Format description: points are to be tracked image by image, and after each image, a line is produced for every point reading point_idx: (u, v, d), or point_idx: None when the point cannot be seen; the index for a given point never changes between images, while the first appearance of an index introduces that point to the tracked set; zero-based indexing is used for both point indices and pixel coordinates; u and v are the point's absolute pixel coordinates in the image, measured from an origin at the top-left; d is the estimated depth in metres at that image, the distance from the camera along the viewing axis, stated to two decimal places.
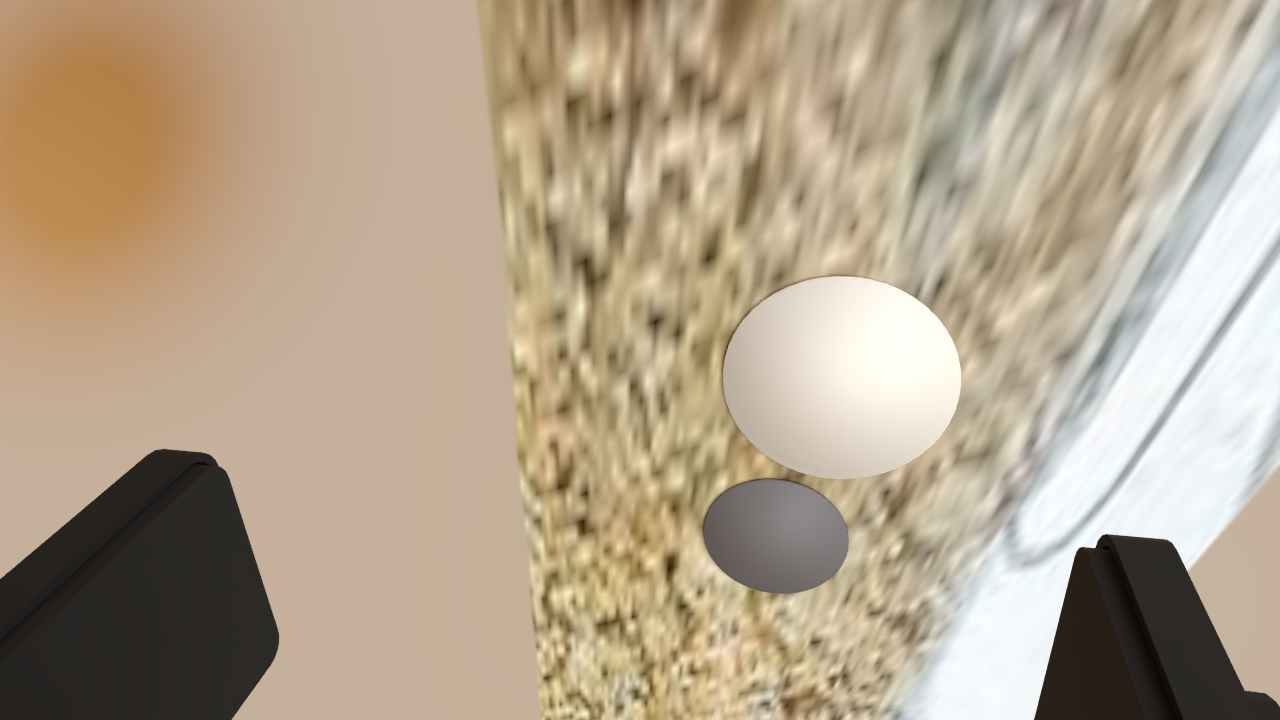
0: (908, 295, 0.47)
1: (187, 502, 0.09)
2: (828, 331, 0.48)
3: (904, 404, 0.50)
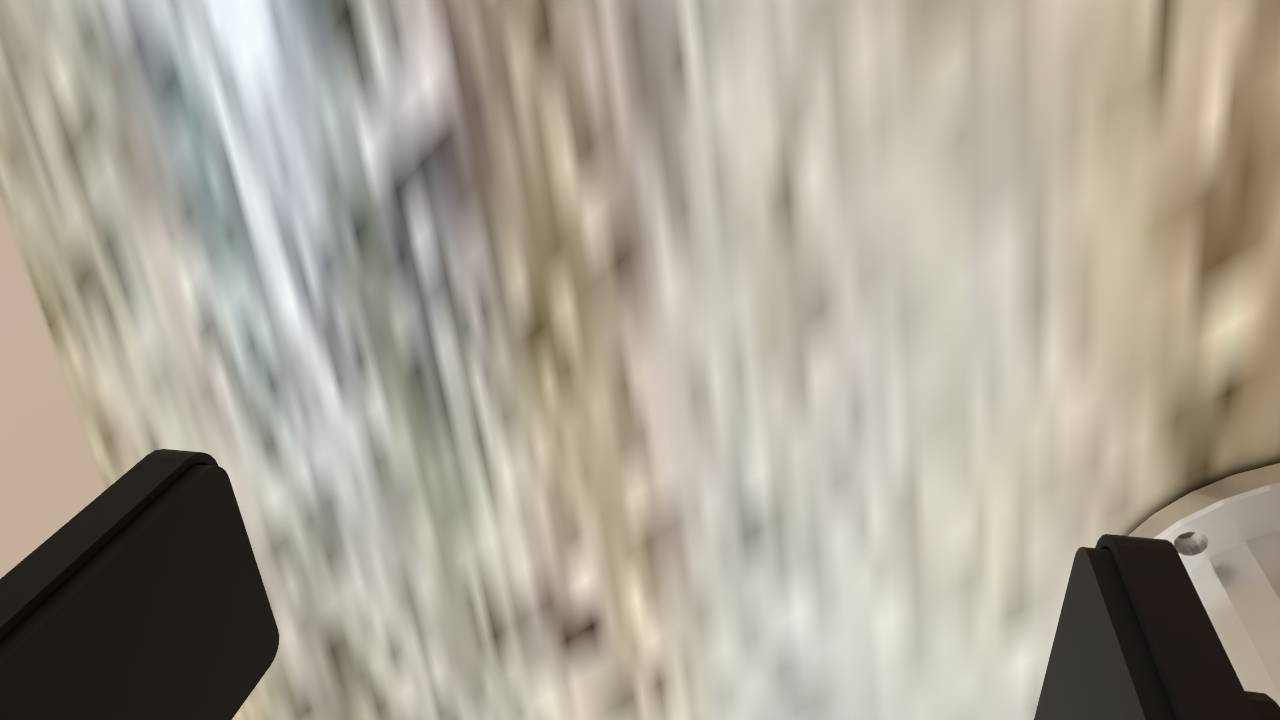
0: None
1: (187, 502, 0.09)
2: None
3: None
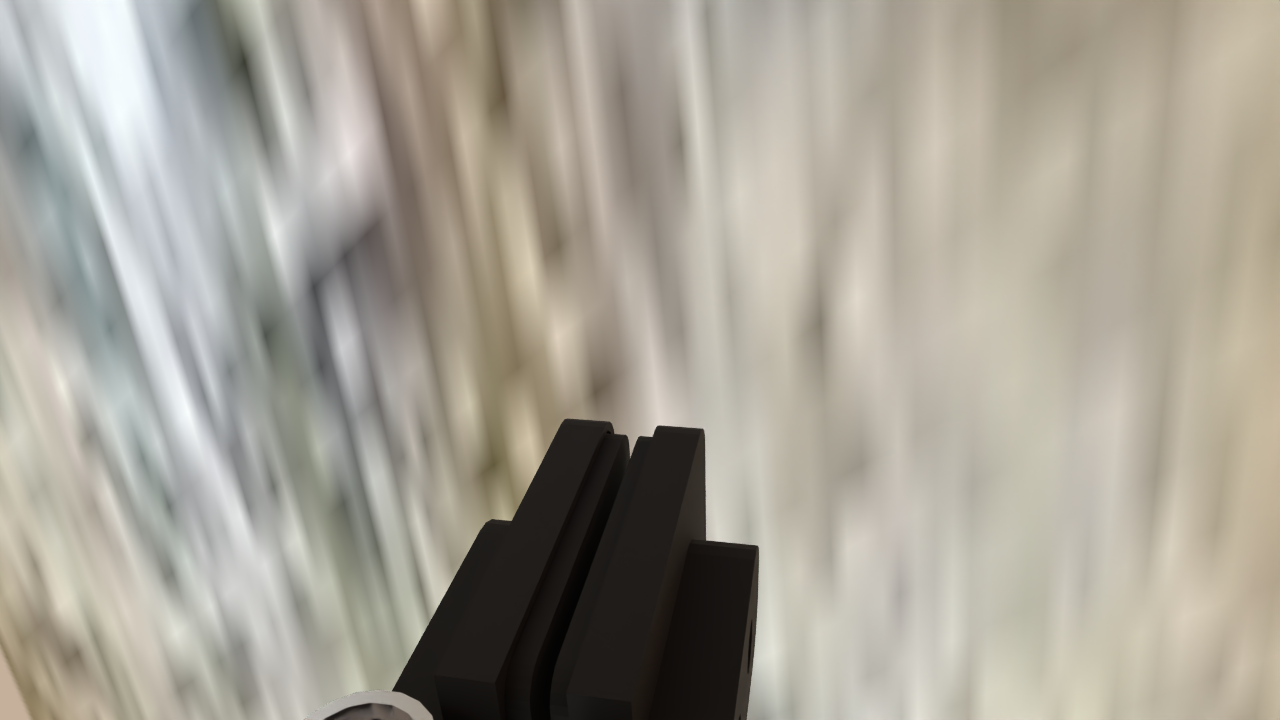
0: None
1: (615, 468, 0.10)
2: None
3: None
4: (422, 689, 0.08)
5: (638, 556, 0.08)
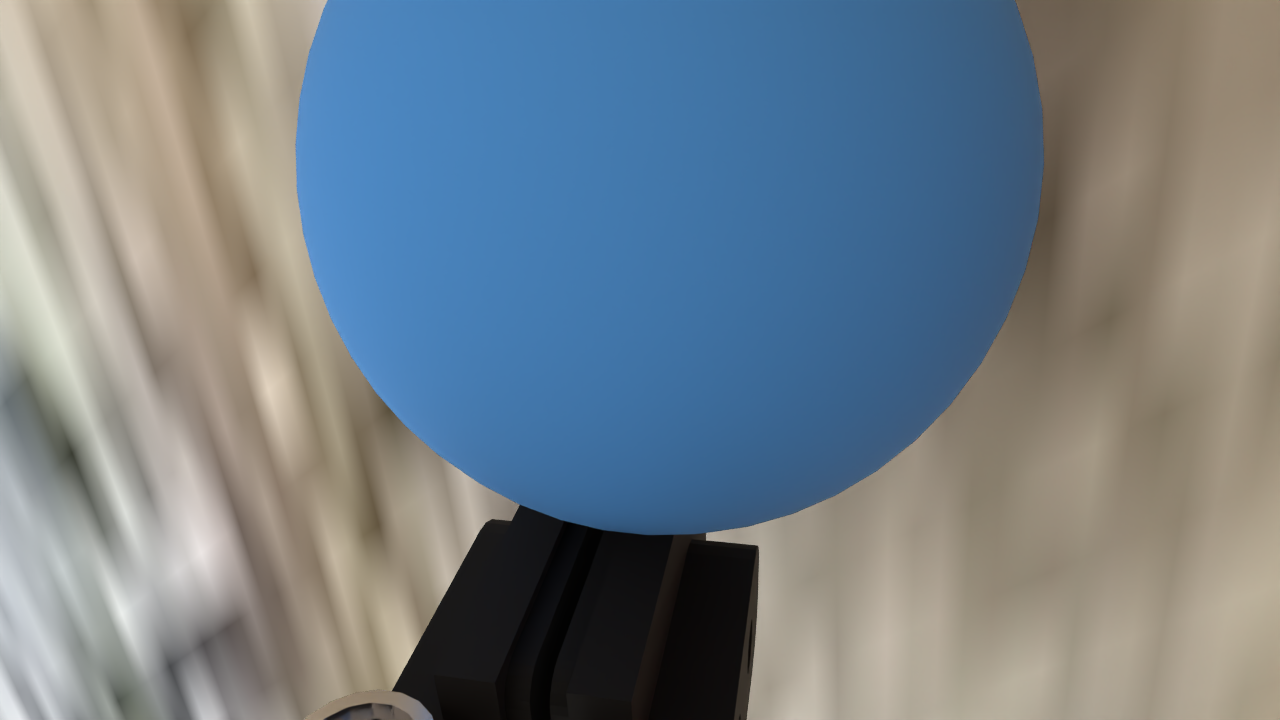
0: None
1: None
2: None
3: None
4: (422, 689, 0.08)
5: (638, 556, 0.08)
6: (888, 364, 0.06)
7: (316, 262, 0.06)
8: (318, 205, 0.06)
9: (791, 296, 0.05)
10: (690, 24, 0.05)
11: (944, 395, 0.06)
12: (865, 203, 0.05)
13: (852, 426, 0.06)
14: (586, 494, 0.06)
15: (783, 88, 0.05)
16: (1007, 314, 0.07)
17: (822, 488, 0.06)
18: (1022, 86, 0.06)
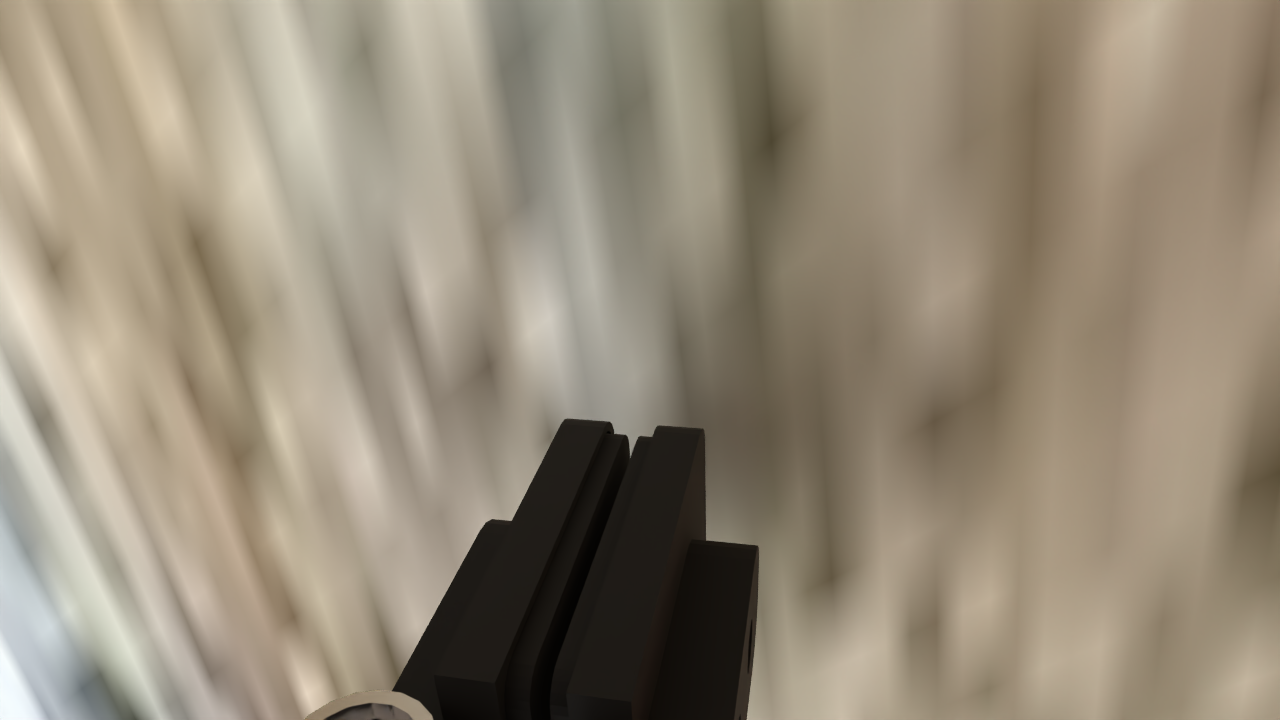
0: None
1: (615, 469, 0.10)
2: None
3: None
4: (422, 689, 0.08)
5: (638, 556, 0.08)
6: None
7: None
8: None
9: None
10: None
11: None
12: None
13: None
14: None
15: None
16: None
17: None
18: None
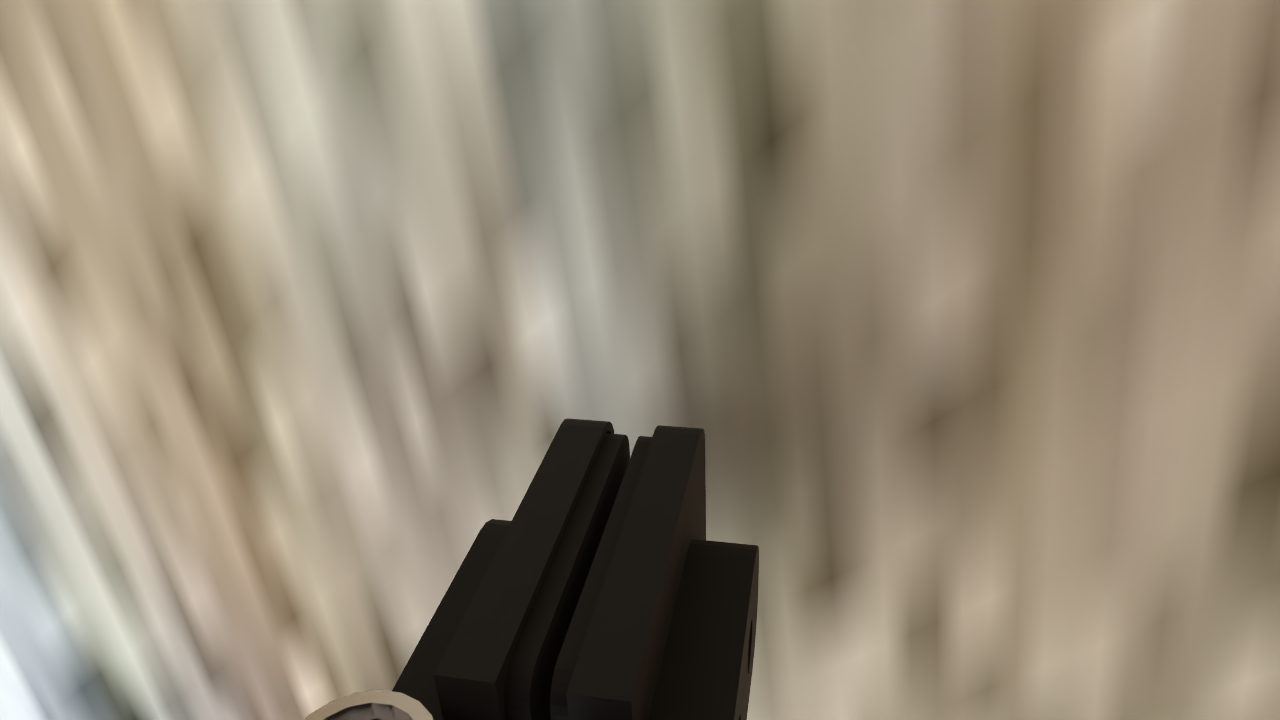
0: None
1: (616, 469, 0.10)
2: None
3: None
4: (422, 689, 0.08)
5: (638, 556, 0.08)
6: None
7: None
8: None
9: None
10: None
11: None
12: None
13: None
14: None
15: None
16: None
17: None
18: None
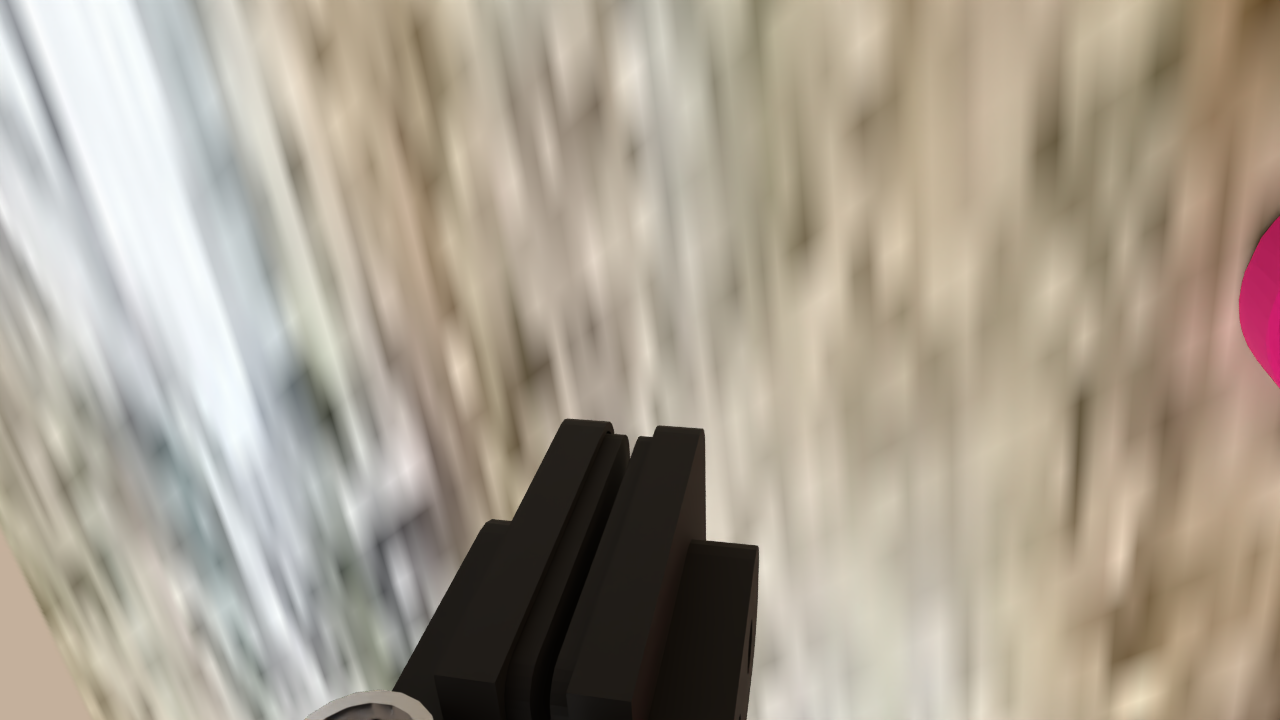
0: None
1: (615, 469, 0.10)
2: None
3: None
4: (422, 689, 0.08)
5: (638, 556, 0.08)
6: None
7: None
8: None
9: None
10: None
11: None
12: None
13: None
14: None
15: None
16: None
17: None
18: None
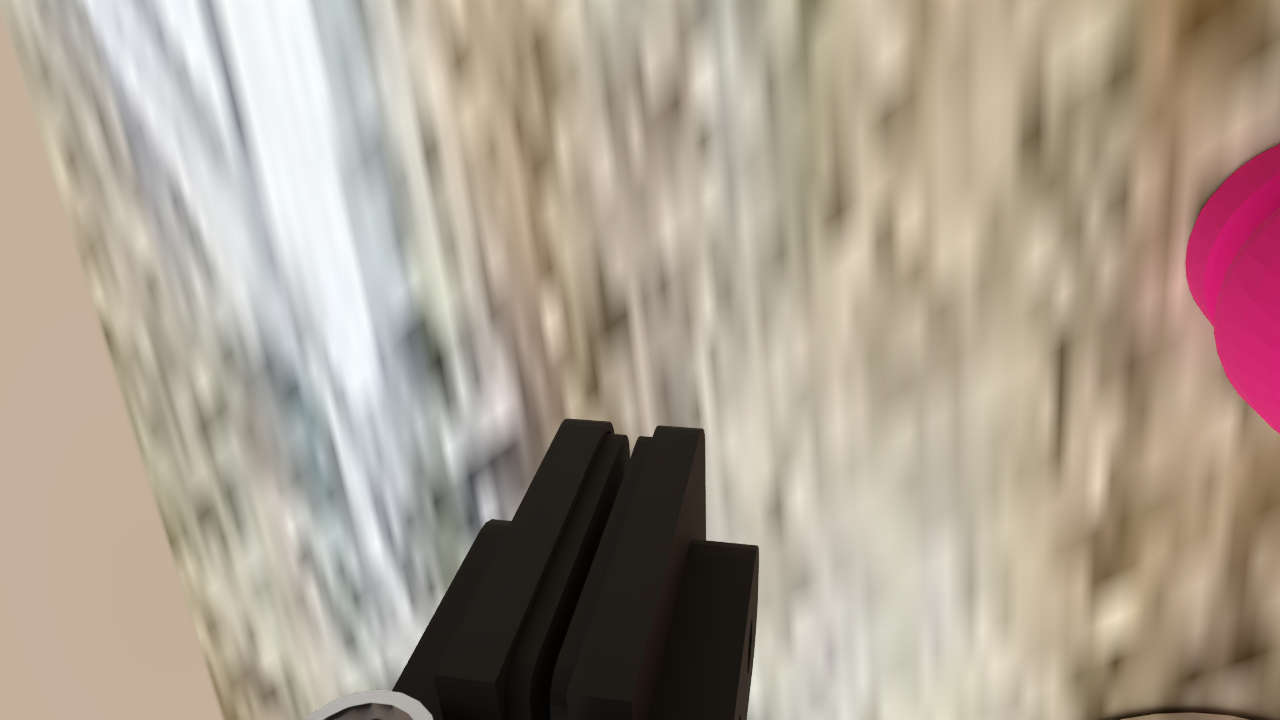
0: None
1: (615, 468, 0.10)
2: None
3: None
4: (422, 689, 0.08)
5: (638, 556, 0.08)
6: None
7: None
8: None
9: None
10: None
11: None
12: None
13: None
14: None
15: None
16: None
17: None
18: None
